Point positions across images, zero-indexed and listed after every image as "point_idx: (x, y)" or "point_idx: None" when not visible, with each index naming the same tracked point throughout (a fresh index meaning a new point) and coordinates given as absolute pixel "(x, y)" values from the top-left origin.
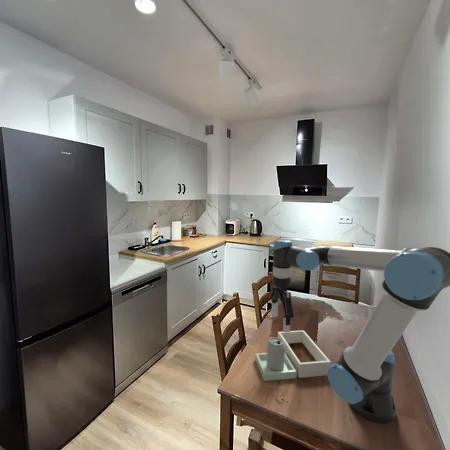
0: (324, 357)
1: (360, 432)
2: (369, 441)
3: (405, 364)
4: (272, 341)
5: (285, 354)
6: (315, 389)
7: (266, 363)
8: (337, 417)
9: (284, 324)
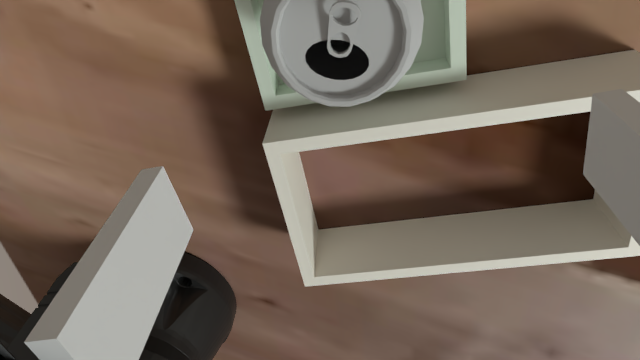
0: (342, 273)
1: (35, 229)
2: (10, 238)
3: None
4: (353, 2)
5: (430, 79)
6: (205, 157)
7: None
8: (72, 187)
9: (99, 243)
